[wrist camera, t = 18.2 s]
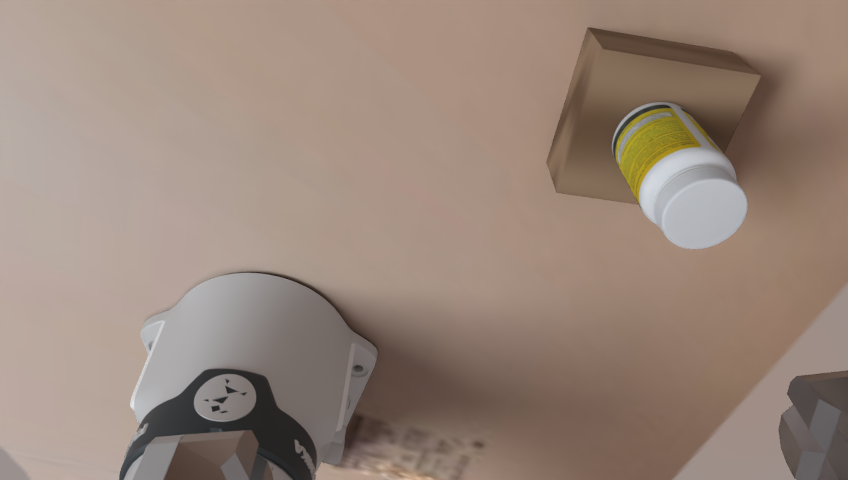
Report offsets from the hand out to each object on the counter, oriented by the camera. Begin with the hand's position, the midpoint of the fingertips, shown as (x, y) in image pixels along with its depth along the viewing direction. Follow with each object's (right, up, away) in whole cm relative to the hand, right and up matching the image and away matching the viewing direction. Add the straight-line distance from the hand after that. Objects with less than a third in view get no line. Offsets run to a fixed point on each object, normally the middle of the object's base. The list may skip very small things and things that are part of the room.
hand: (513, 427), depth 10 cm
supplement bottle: (+12, +9, +27) cm, 31 cm away
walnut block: (+12, +11, +30) cm, 34 cm away
